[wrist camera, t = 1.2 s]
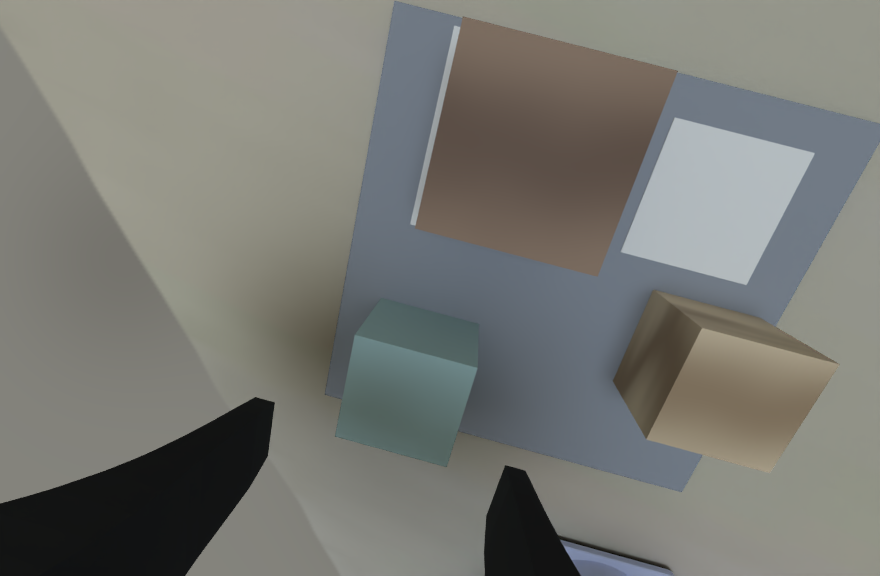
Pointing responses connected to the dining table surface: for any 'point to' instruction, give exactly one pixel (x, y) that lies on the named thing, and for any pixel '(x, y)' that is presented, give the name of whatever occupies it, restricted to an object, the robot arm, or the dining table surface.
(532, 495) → the robot arm
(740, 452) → the oak block
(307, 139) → the dining table surface
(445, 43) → the blueprint mat
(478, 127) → the walnut base
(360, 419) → the teal block
